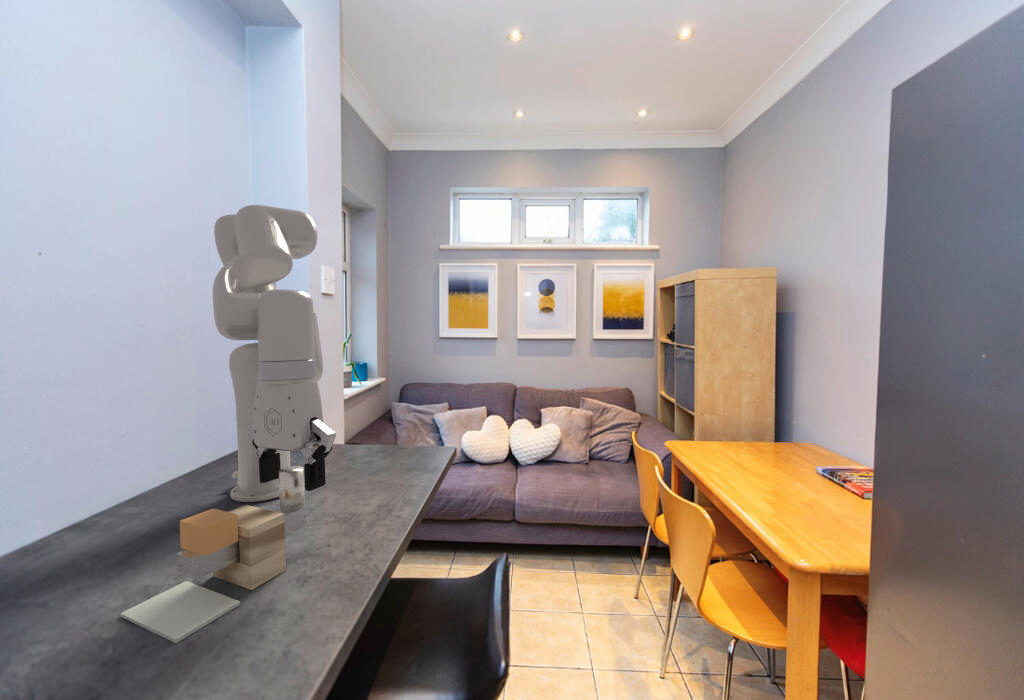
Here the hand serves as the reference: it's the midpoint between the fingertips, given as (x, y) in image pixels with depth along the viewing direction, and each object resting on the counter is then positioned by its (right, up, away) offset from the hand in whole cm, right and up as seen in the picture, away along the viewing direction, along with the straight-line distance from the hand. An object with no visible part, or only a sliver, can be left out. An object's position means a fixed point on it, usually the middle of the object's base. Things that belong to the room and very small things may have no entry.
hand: (292, 484), depth 64 cm
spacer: (-5, -4, -10) cm, 12 cm away
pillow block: (-3, -11, -6) cm, 12 cm away
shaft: (-3, -7, -5) cm, 9 cm away
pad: (-6, -11, -13) cm, 18 cm away
